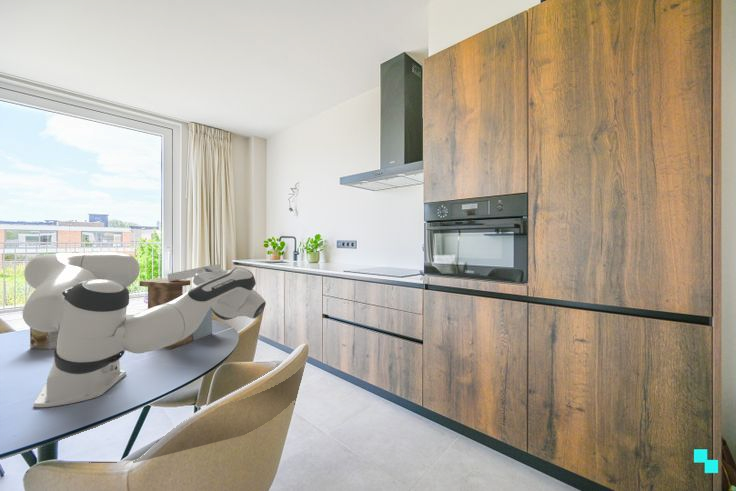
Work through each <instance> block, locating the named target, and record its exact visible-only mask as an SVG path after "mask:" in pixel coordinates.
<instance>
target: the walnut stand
mask: <svg viewBox="0 0 736 491" xmlns="http://www.w3.org/2000/svg"><path fill="white" fill-rule="evenodd" d="M190 285H191V280H190V279H181V280H175V281H168V278H163V277H162V278H155V279H147V280H139V284H138V286H139V287H144V288H147V309H149V308H152V307H155V306H158V305H162V304H165V303H167V302H170V301H172V300H174V299H176V298H178V297H180V296H181V295H183V294H184V293H183V292H184V290H183V289H184V288H183V287H184V286H185V287H186V286H190ZM192 342H193V340H192V337H190V336H188V337H187V338H185V339H183V340H181V341H179V342H177V343H174V344H172V345H170V346H167V347H164V348H163V349H167V350H172V349H175V348H178V347H181V346H184V345H186V344H188V343H192Z"/></svg>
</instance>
